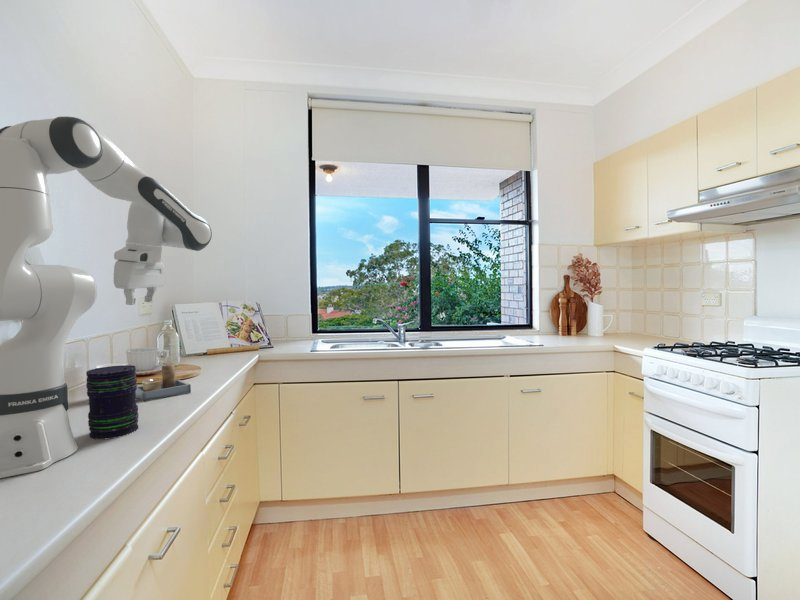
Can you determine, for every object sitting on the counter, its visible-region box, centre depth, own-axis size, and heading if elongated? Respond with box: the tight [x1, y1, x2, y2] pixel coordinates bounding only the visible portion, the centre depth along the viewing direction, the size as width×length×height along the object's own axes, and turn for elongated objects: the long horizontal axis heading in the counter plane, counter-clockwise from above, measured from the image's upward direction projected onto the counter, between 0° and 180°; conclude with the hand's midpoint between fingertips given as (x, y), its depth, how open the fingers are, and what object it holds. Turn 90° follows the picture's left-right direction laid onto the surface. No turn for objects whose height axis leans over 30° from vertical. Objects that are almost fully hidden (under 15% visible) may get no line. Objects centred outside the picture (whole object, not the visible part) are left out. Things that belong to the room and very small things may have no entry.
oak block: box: [142, 379, 162, 392], centre depth 133 cm, size 4×4×4 cm
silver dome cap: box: [141, 378, 154, 385], centre depth 136 cm, size 3×3×4 cm
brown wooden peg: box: [161, 364, 176, 389], centre depth 138 cm, size 4×4×8 cm
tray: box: [136, 379, 192, 402], centre depth 137 cm, size 14×11×3 cm
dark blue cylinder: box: [85, 364, 139, 440], centre depth 101 cm, size 10×10×15 cm
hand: (139, 303), depth 123 cm, fingers open, 8 cm apart
